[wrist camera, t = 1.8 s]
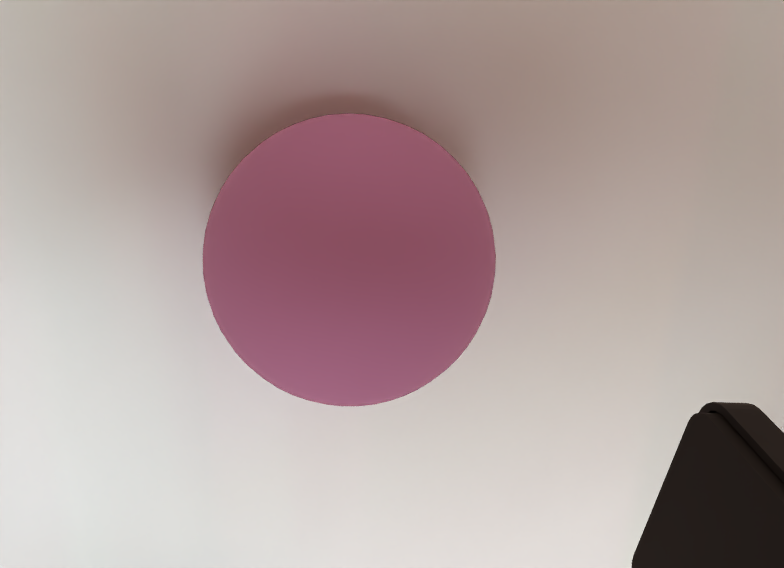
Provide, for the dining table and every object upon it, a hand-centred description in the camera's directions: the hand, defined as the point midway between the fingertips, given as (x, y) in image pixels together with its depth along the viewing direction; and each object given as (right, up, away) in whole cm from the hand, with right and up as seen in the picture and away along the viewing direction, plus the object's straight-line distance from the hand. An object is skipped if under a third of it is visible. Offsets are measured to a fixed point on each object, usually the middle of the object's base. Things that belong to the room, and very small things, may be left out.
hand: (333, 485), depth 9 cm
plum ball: (-1, +4, +9) cm, 10 cm away
